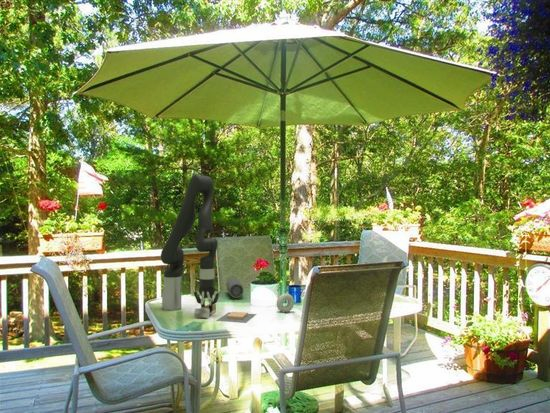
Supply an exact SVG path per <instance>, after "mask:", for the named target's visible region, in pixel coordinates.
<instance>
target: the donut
mask: <svg viewBox="0 0 550 413" xmlns="http://www.w3.org/2000/svg"><path fill="white" fill-rule="evenodd" d="M285 301H287V303H286V305H284V302H285ZM294 303H295V300H294V297H293V296H292V295H291V294H289V293H286V292H285V293H282V294H281V295H279V296H278V298H277V300H276V307H277V310H278V311H279V312H281V313H285V314H286V313H289V312H291V311H292V310H293V308H294V306H295V304H294Z"/></svg>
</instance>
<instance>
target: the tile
mask: <svg viewBox="0 0 550 413" xmlns="http://www.w3.org/2000/svg"><path fill="white" fill-rule="evenodd" d="M230 312H231V311H230ZM248 314H249V312H243V311H232V312H231V313H230V314H228V315H227V319H240V320H242V319H244V318H245V317H246V316H247V315H248Z"/></svg>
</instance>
